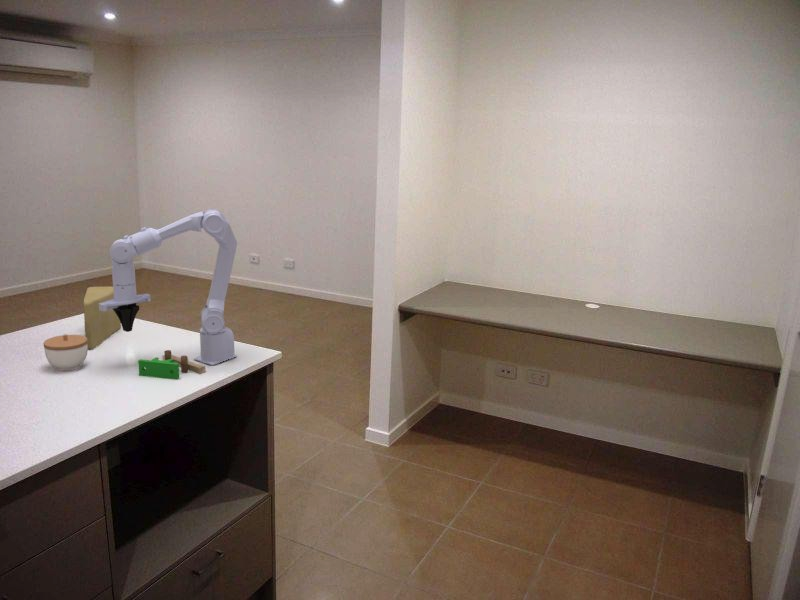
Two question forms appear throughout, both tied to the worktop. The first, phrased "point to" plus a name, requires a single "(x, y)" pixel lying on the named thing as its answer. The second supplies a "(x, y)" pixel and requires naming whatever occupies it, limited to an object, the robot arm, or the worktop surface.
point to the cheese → (99, 316)
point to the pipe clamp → (159, 368)
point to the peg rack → (184, 363)
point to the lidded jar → (66, 351)
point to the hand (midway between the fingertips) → (127, 330)
